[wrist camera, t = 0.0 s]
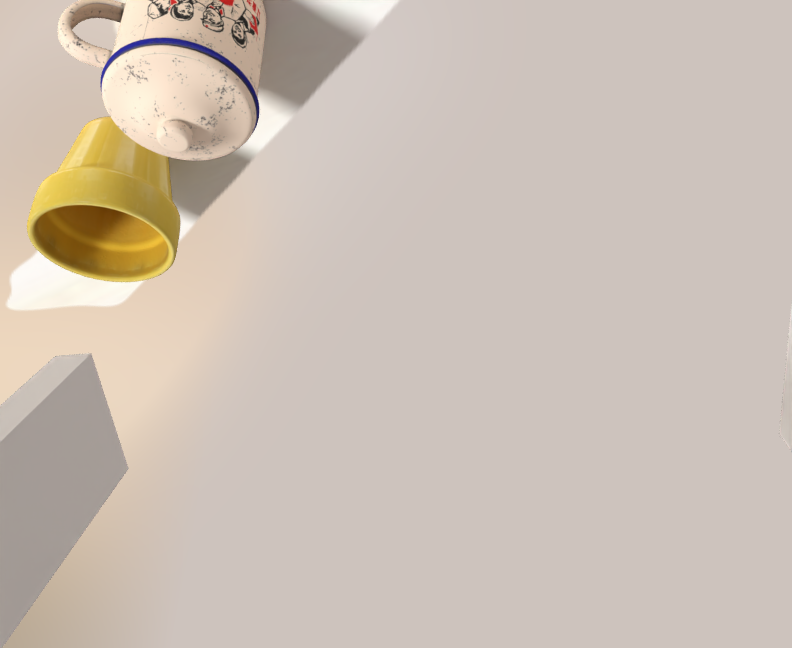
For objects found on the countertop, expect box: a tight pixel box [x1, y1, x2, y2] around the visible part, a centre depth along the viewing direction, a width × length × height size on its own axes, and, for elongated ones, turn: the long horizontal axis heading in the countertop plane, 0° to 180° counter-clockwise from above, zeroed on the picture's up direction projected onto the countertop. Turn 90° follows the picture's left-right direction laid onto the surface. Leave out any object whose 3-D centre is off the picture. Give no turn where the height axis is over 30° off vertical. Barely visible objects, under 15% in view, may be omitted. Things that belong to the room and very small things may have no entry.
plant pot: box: [27, 116, 180, 282], centre depth 57 cm, size 10×10×10 cm
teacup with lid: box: [58, 0, 266, 161], centre depth 45 cm, size 12×9×12 cm
